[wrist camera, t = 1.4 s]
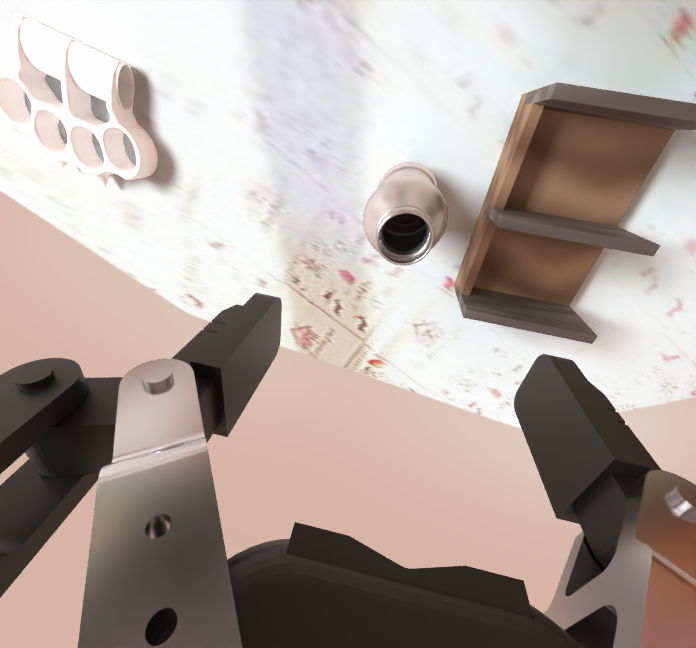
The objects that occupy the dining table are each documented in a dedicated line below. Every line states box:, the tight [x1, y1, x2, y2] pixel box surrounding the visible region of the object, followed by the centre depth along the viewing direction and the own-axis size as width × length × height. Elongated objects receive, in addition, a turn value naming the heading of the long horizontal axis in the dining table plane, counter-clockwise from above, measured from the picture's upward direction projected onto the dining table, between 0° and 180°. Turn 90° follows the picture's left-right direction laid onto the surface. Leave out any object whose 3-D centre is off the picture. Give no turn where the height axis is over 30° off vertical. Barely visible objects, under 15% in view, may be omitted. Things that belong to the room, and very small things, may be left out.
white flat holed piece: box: [0, 14, 158, 186], centre depth 37 cm, size 3×18×15 cm
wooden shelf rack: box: [454, 83, 696, 344], centre depth 32 cm, size 21×14×8 cm, turn 172°
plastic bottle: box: [363, 162, 448, 265], centre depth 29 cm, size 6×7×20 cm
